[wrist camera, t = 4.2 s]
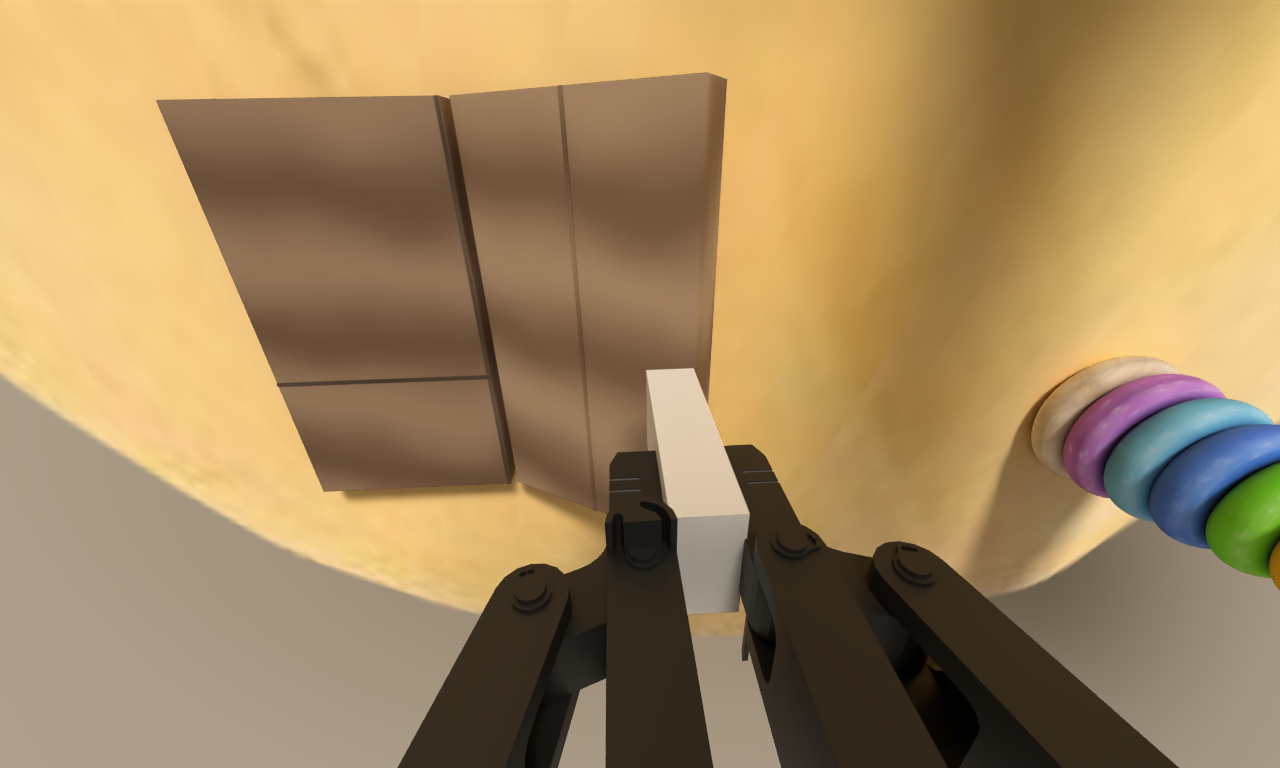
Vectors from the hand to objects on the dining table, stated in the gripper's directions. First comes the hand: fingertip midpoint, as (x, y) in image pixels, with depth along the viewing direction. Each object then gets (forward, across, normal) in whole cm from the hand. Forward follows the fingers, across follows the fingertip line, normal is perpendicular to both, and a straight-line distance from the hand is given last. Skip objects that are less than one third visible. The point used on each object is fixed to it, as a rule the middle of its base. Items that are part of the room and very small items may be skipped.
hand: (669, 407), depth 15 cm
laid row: (+9, -13, 0) cm, 16 cm away
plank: (+6, -2, 0) cm, 7 cm away
